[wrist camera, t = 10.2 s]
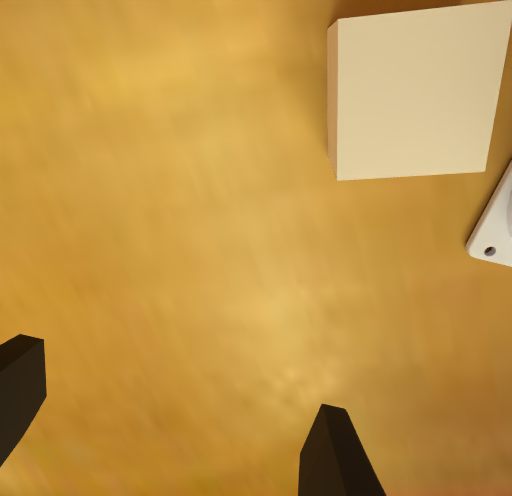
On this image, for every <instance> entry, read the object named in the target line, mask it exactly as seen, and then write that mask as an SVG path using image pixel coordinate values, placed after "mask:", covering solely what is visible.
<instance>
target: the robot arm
mask: <svg viewBox="0 0 512 496" xmlns="http://www.w3.org/2000/svg"><path fill="white" fill-rule="evenodd" d="M488 247H492V249H491V250H490V251H489V252H487V253H484V251H485V249H486V248H488ZM466 251H467V252H468V253H469V254H470V256H472V257H474V258H478V259H482V260H486V261H490V262H494V263H499V264H503V265H507V266H511V267H512V160H511V162H510V164H509V166H508V168H507V170H506V171H505V173H504V175H503V177H502V179H501V181H500V183H499V184H498V186H497V188H496V190H495V192H494V194H493V196H492V197H491V199H490V201H489V203H488V205H487V207H486V209H485V210H484V212H483V214H482V216H481V218H480V220H479V222H478V223H477V225H476V227H475V229H474V231H473V233H472V235H471V236H470V238H469V240H468V242H467V244H466ZM46 396H47V394H46V373H45V353H44V339H39V338H35V337H31V336H26V335H22V334H19V335H17V336H16V337H14V338H12V339H10V340H8V341H7V342H5V343H3V344H1V345H0V467H1V466H2V464H3V463H4V461H5V460H6V459H7V457H8V456H9V455H10V453H11V452H12V451H13V449H14V448H15V447H16V445H17V444H18V442H19V441H20V440H21V438H22V437H23V435H24V434H25V432H26V430H27V429H28V427H29V426H30V424H31V422H32V421H33V419H34V417H35V416H36V414H37V412H38V410H39V409H40V407H41V405H42V403H43V402H44V400H45V398H46ZM298 496H386V494H385V492H384V490H383V488H382V486H381V484H380V482H379V480H378V478H377V476H376V474H375V472H374V470H373V468H372V465H371V463H370V461H369V459H368V457H367V455H366V453H365V450H364V448H363V446H362V444H361V442H360V440H359V437H358V435H357V433H356V431H355V428H354V426H353V424H352V422H351V419H350V417H349V415H348V413H347V411H346V410H345V409H343V408H339V407H334V406H330V405H326V404H322V405H321V407H320V409H319V412H318V414H317V416H316V418H315V421H314V423H313V425H312V428H311V430H310V432H309V435H308V437H307V439H306V441H305V444H304V446H303V448H302V451H301V453H300V466H299V486H298Z"/></svg>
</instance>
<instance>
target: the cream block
mask: <svg viewBox="0 0 512 496" xmlns="http://www.w3.org/2000/svg"><path fill="white" fill-rule="evenodd" d="M511 23H512V0H506V1H497V2H488V3H479V4H470V5H461V6H451V7H442V8H433V9H424V10H415V11H406V12H397V13H388V14H378V15H369V16H360V17H351V18H342V19H338V20H337V21H336V22H334V23H333V24H332V25H331V26H330V27H329V28H328V29H327V123H328V159H329V162H330V164H331V167H332V169H333V172H334V174H335V177H336V179H337V181H339V180H355V179H371V178H388V177H404V176H420V175H437V174H453V173H469V172H485V168H486V162H487V156H488V151H489V145H490V140H491V134H492V129H493V123H494V118H495V112H496V107H497V101H498V95H499V90H500V84H501V79H502V73H503V68H504V62H505V57H506V51H507V46H508V40H509V34H510V29H511Z"/></svg>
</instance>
